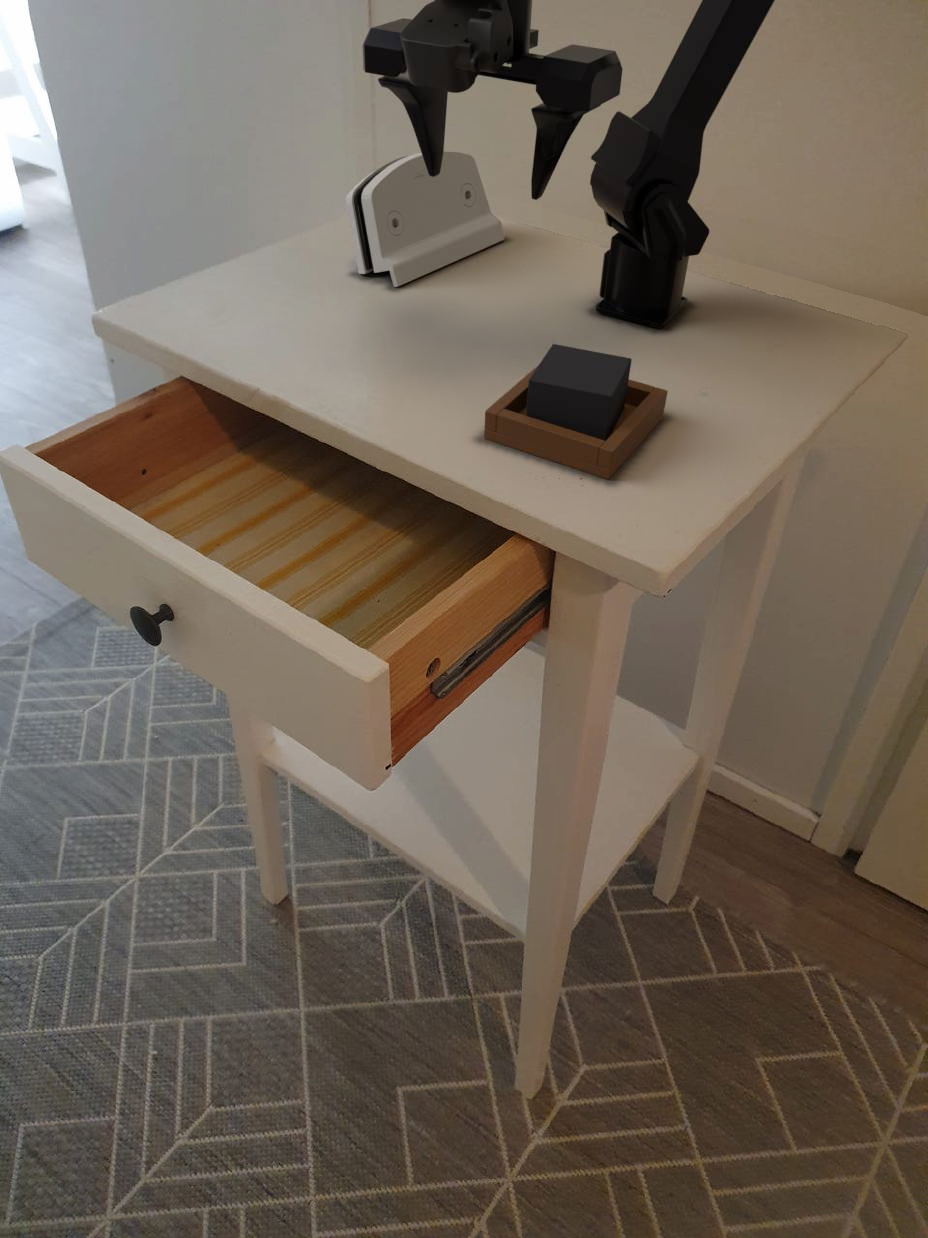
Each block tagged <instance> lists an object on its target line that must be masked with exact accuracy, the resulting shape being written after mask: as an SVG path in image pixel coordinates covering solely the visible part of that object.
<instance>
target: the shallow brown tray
mask: <svg viewBox="0 0 928 1238" xmlns="http://www.w3.org/2000/svg"><path fill="white" fill-rule="evenodd" d="M538 366H539V364H538V365H536V366H535V367H534V368H532V370H531V371H530V372H528V373H527V374H526V375H524V377H522V378H521V379H520V380H519V381H518V382H517V383H516V384H514V385H513V386H512V387H511V388H510V389H509V390H508V391H506V392H505V393H504V394H503V395H502V396H501V397H500V398H498V399H497V400H496V401H494V403H492V404H491V405H490V406H489V407H488V408H487V409H485V412H484V430H483V438H484V439H485V440H488V441H491V442H494V443H497V444H501V445H504V446H506V447H510V448H513V449H516V450H519V451H522V452H525V453H528V454H531V455H534V456H536V457H539V458H543V459H545V460H549V461H552V462H554V463H558V464H561V465H564V466H567V467H570V468H573V469H576V470H578V471H582V472H585V473H588V474H590V475H593V476H597V477H600V478H603V479H605V480H610V479H611V478H612V476H613V475H614V474H615V473H616V472H617V471H618V469H619V468H620V467H621V466H622V465H623V464H624V463H625V462H626V460H627V459H628V458H629V457H630V456H631V455H632V453H634V451H635V450H636V449H637V448H638V447H639V445H641V443H642V442H643V441H644V440H645V438H646V437H647V436H649V434H650V433H651V432H652V431H653V429H654V428H655V427H656V426H657V425H658V424H659V422H660V421H661V420H662V419H663V418H664V414H665V408H666V404H667V397H668V391H669V390H666V389H663V388H661V387H658V386H657V387H655V386H654V385H650V384H647V383H643V382H639V381H636V380H633V379H629V381H628V387H627V394H626V401H625V407H624V409H623V411H622V413H621V415H620V417H619V419H618V421H617V423H616V425H615V427H614V429H613V431H612V433H611V435H610V437H609V438H608V439H607V440H606V441H604V440H601V439H598V438H595V437H591V436H588V435H585V434H582V433H579V432H576V431H572V430H569V429H566V428H563V427H560V426H557V425H553V424H550V423H547V422H544V421H541V420H538V419H534V418H531V417H528V416H526V410H527V397H528V383H529V379H530V377H531V376H532V374H533V373H534V371H535V370H536V369H537V367H538Z"/></svg>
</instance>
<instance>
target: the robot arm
mask: <svg viewBox="0 0 928 1238" xmlns="http://www.w3.org/2000/svg"><path fill="white" fill-rule="evenodd" d="M775 1H776V0H701V2H700V4H699V6H698V8H697V10H696V12H695V14H694V16H693V18H692V19H691V22H690V23H689V25H688V27H687V30H686V32H685V33H684V35H683V37H682V39H681V41H680V43H679V44H678V47H677V49H676V51H675V53H674V54H673V57H672V59H671V61H670V62H669V64H668V66H667V68H666V70H665V72H664V74H663V76H662V78H661V80H660V82H659V84H658V85H657V87H656V89H655V92H654V93H653V95H652V97H651V99H650V100H649V101H648V102H647V103H646V104H645V105H644V106H643V107H642V108H640V109H639V110H638V111H637V112H636V113H634V115H633V116H629V115H627V114H625V113H623V112H622V111H620V110H618V111H616V112H615V113H614V115H613V117H612V118H611V120H610V123H609V126H608V128H607V131H606V134H605V137H604V139H603V140H602V143H601V144H600V146H599V147H598V149H596V151H594V153H593V154H592V155H591V156H590V160H591V161H593V162H594V165H593V169H592V171H591V174H590V180H589V184H590V186H591V191H592V197H593V199H594V201H595V203H596V204H597V206H598V207H599V208H601V209H602V210H603V214H604V218H605V223H606V225H607V226H608V227H610V228H613V229H614V231H616V233H615V234H614V235H612V236H611V239H610V248H609V249H608V250H607V251H605V252H604V254H603V261H602V267H601V268H602V270H601V276H600V277H601V278H600V286H599V297H600V299H601V300H600V301H599V302H597V304H596V305H595V312H597V313H600V314H604V315H608V316H612V317H615V318H618V319H623V320H627V321H629V322H635V323H638V324H641V325H646V326H648V327H653V328H657V329H662V328H664V327H665V326H666V325H667V324H669V322H670V321H671V320H672V319H673V318H674V317H675V316H676V315H677V314H678V313H679V312H680V311H681V310H682V309H683V308H684V307H685V306H686V305H687V304H688V297H686V296H683V293H684V287H685V282H686V276H687V271H688V264H689V259H690V257H693V256H698V255H700V253H701V251H702V249H703V247H704V245H705V243H706V241H707V239H708V236H709V235H710V228H709V227H708V226H707V224H706V223H705V222H704V221H703V219H702V218H701V216H700V215H699V214H698V212H697V211H696V210H695V209H694V208H693V206H692V205H691V204H690V202H689V200H690V198H691V195H692V194H693V190H694V188H695V185H696V183H697V180H698V177H699V175H700V170H701V161H702V153H703V152H702V151H703V143H704V134H705V130H706V128H707V126H708V125H709V122H710V120H711V118H712V116H713V115H714V113H715V111H716V109H717V107H718V106H719V104H720V103H721V100H722V98H723V97H724V95H725V94H726V91H727V90H728V88H729V86H730V83H731V82H732V80H733V78H734V76H735V74H736V72H737V71H738V69H739V67H740V66H741V64H742V62H743V60H744V58H745V56H746V54H747V52H748V51H749V48H750V47H751V45H752V43H753V41H754V40H755V38H756V36H757V35H758V32H759V31H760V29H761V27H762V25H763V23H764V21H765V19H766V18H767V17H768V14H769V12H770V10H771V9H772V7H773V5H774V3H775ZM532 10H533V0H432V1H431V2H429V3H427V4H426V5H424V6H423V7H422V8H421V9H420V10H419V12H417V14H416V15H415V16H414V17H413V18H412V19H411V18H404V17H403V18H399V19H396V20H393V21H389V22H386V23H383V24H380V25H379V24H378V25H376V26H372V27H370V29H369V30H368V32H367V34H366V36H365V38H364V41H363V43H362V63H363V64H362V67H363V71H364V72H365V73H367V74H372V75H378V76H381V77H378V78H377V81H378V85H380V87H382V88H386V89H388V90H389V91H390V92H392V94H393V95H394V96H395V97H396V98H397V99H398V100H399V101H400V102H401V104H402V105H403V107H404V110H405V111H406V113H407V115H408V118H409V121H410V123H411V125H412V129H413V131H414V135H415V137H416V140H417V144H418V146H419V149H420V153H422V156H423V159H424V162H425V165H426V168H427V171H428V174H429V176H431V177H435V176H437V175H439V174H440V170H441V165H442V159H443V152H444V151H445V137H446V123H447V122H446V121H447V109H448V97H449V96H448V94H449V93H451V94H458V93H463V92H466V91H468V90H469V89H471V88H472V87H473V86H474V84H475V82H476V79H477V78H478V76H481V77H486V78H492V79H500V80H504V81H511V82H514V83H515V82H516V83H521V84H527V85H534V86H535V92H536V94H537V95H538V97H539V98H540V100H541V101H542V103H540V104H538V105H536V106H533V107H532V108H531V109H530V110H531V116H532V117H533V121H534V123H535V126H536V133H535V141H534V150H533V161H532V168H531V169H532V170H531V180H530V184H531V187H530V188H531V189H530V190H531V191H530V192H531V194H530V195H531V199H532V200H535V201H538V200H539V199H541V198H542V197H543V195H544V193H545V191H546V189H547V186H548V184H549V182H550V180H551V178H552V175H553V174H554V172H555V169H556V167H557V165H558V163H559V161H560V160H561V158H562V157H561V156H562V155H563V152H564V150H565V148H566V146H567V144H568V142H569V140H570V139H571V137H572V135H573V134H574V132H575V130H576V129H577V127H578V125H579V124H580V122H581V121H582V118H583V116H584V115H586V114H588V113H590V112H592V111H594V110H595V109H597V108H599V107H601V106H602V105H603V104H605V103H607V102H608V101H611V100H612V99H615V98H616V97H618V96H620V95H621V85H622V77H623V67H622V63H621V60H620V58H619V56H618V54H617V51H616V50H612V49H605V48H600V47H599V48H598V47H592V46H585V45H579V44H572V43H571V44H569V45H567V46H565V47H562V48H559V49H558V50H555V51H553V52H552V51H551V52H550V53H548V54H546V55H543V54H537V53H532V52H530V50H531V49H533V48H537V47H538V46H539V31H540V29H534V28H532ZM505 64H506V65H505ZM508 65H510V66H508Z"/></svg>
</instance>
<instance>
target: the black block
mask: <svg viewBox="0 0 928 1238" xmlns="http://www.w3.org/2000/svg"><path fill="white" fill-rule="evenodd" d="M632 360H633V359H632V358H631V357H627V356H626V357H625V356H621V355H620V356H619V355H615V354H610V353H604V352H599V351H593V350H588V349H583V348H577V347H572V346H567V345H561V344H556V343H552V344H551V346H550V348H549V349H548V351H547V352H546V354H545V355H544V356H543V357H542V360H541V361H540V362H539V363H538V365H539V366H538V365H537V366H538V367H537V366H536V367H537V369H536V370H535V371H534V373H533V374H532V376H531V377H530V379H529V383H528V397H527V410H526V416H528V417H531V418H534V419H538V420H541V421H544V422H547V423H550V424H553V425H557V426H560V427H563V428H566V429H569V430H572V431H576V432H579V433H582V434H585V435H588V436H591V437H595V438H598V439H601V440H604V441H606V440H607V439H608V438H609V437H610V435H611V433H612V431H613V429H614V427H615V425H616V423H617V421H618V419H619V417H620V415H621V413H622V411H623V409H624V407H625V401H626V394H627V387H628V381H629V380H630V373H631V367H632V362H633V361H632Z"/></svg>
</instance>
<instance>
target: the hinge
mask: <svg viewBox="0 0 928 1238" xmlns="http://www.w3.org/2000/svg"><path fill="white" fill-rule="evenodd" d="M345 207H346V211H347V212H346V213H347V217H348V223H349V229H350V234H351V240H352V244H353V248H354V250H353V251H354V255H355V261H356V267H357V271H358V275H366V274H369V273H371V272H373V274H374V273H375V274H376V273H382V272H388V271H389V274H390V277H391V282H392V285H393V288H397V287H400V286H402V285H404V284H407V283H408V282H412V281H413V280H416V279H418V278H420V277H423V276H425V275H427V274H429V273H432V272H434V271H437V270H439V269H441V268H443V267H445V266H448V265H450V264H452V263H454V262H457V261H459V260H461V259H464V258H466V257H468V256H471V255H473V254H475V253H477V252H480V251H482V250H484V249H486V248H489V247H491V246H493V245H495V244H497V243H500V242H502V241H504V240H505V239H506V238H505V234H504V229H503V224H502V221H501V220H500V218H498V217H497V216H496V215H495V214H494V213H493V212H492V211H491V207H490V204H489V201H488V197H487V194H486V192H485V188H484V184H483V181H482V179H481V175H480V171H479V168H478V165H477V162H476V160H475V158H474V157H473V155H471V154H467V153H463V152H458V151H448V150H447V151H446V150H444V152H443V159H442V165H441V170H440V174H439V175H437V176H435V177H431V176H429V174H428V171H427V168H426V165H425V162H424V159H423V156H422V153H421V152H417V153H413V154H408V155H405V156H400V157H398V158H396V159H393V160H391V161H388V162H387V163H385V164H384V165H382V166H380V167H378V168H377V169H375V170H374V171H372V172H370V174H368V175H366V176H365V177H363V179H362V180H360V181H359V182H358V183H357V184H356V185H355V186H353V188H352V189H351V190H350V191H349V192H348V193H347V195H346V198H345Z"/></svg>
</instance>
